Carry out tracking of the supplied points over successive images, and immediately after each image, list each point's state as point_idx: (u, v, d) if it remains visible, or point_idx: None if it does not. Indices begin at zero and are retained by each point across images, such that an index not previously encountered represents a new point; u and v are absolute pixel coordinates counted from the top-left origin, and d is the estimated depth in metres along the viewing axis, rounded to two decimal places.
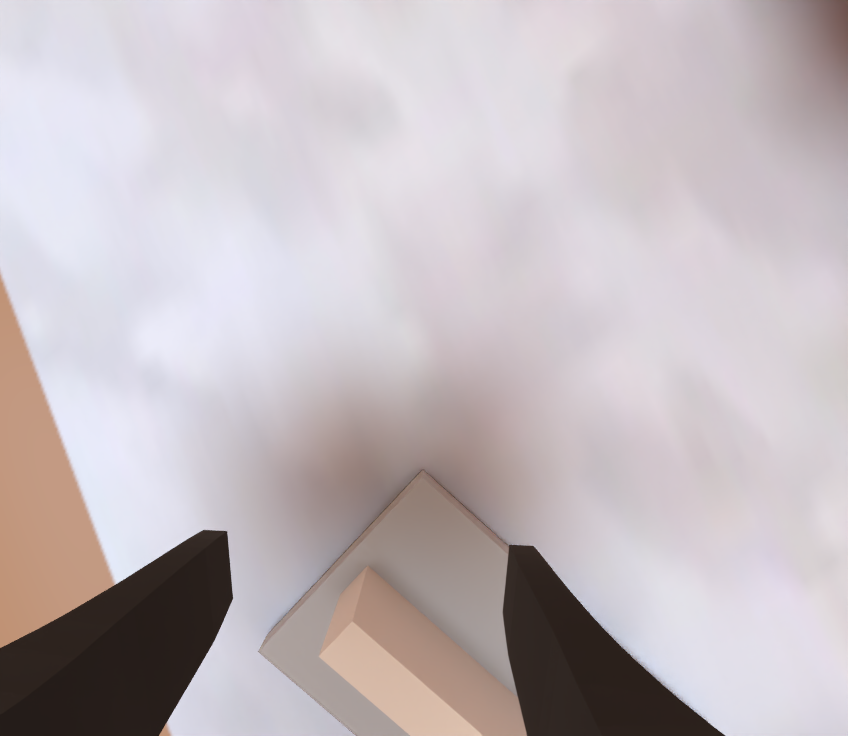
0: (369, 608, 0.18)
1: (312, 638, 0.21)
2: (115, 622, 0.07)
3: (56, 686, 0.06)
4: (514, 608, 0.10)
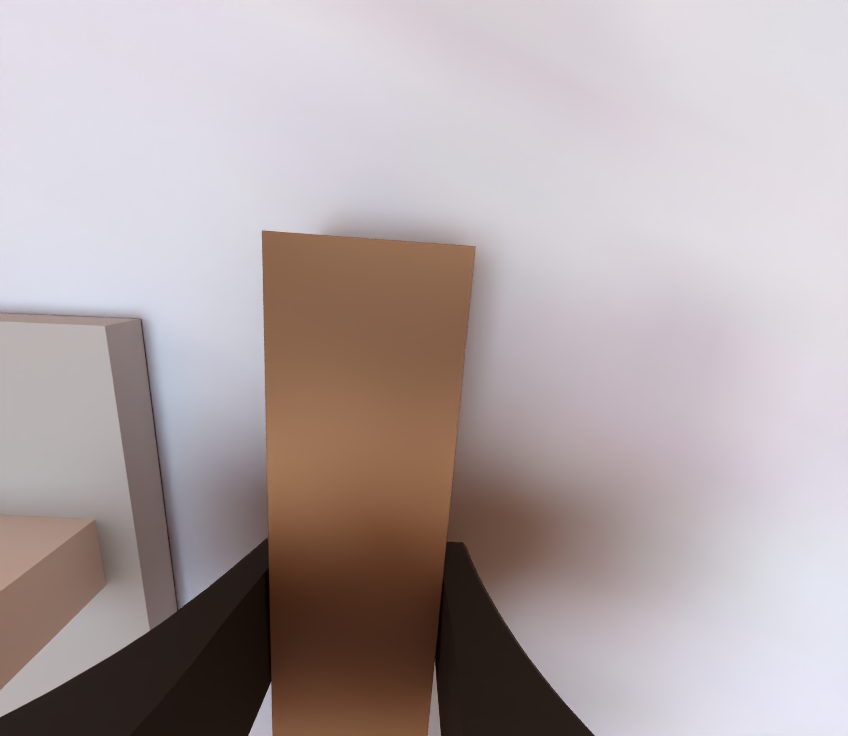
0: None
1: None
2: (218, 627, 0.07)
3: (178, 692, 0.06)
4: None
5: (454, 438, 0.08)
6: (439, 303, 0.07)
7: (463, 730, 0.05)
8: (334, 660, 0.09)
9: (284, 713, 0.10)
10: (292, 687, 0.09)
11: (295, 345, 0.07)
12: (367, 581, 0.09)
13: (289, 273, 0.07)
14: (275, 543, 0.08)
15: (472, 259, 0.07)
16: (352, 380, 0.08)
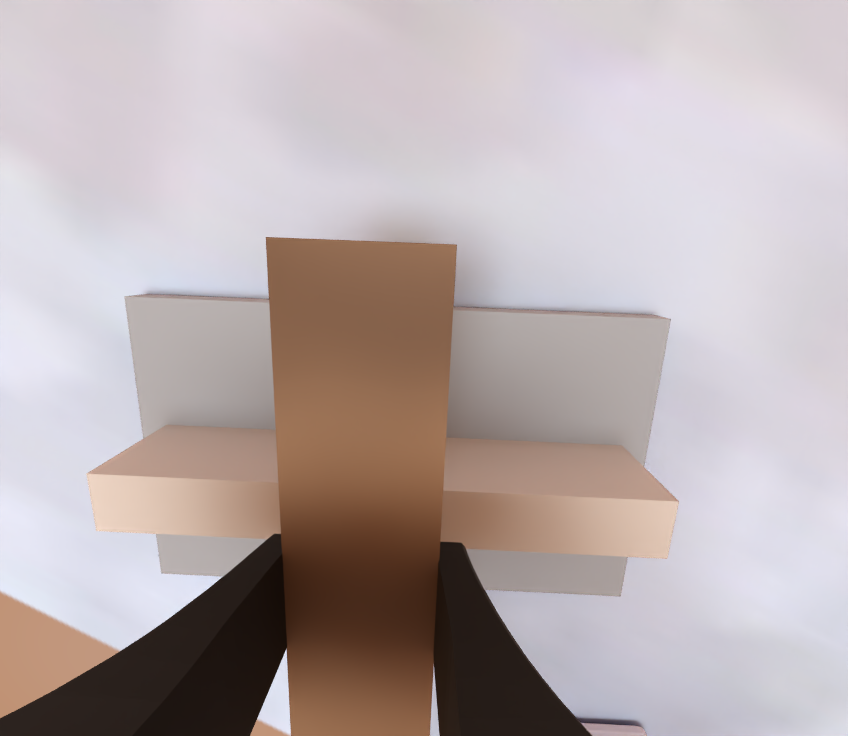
0: (137, 454, 0.14)
1: None
2: (220, 627, 0.07)
3: (180, 692, 0.06)
4: (436, 604, 0.10)
5: (445, 419, 0.09)
6: (427, 296, 0.08)
7: (461, 730, 0.05)
8: (343, 628, 0.10)
9: (299, 680, 0.10)
10: (305, 655, 0.10)
11: (298, 339, 0.08)
12: (371, 553, 0.09)
13: (291, 274, 0.08)
14: (286, 521, 0.09)
15: (454, 256, 0.08)
16: (350, 369, 0.08)
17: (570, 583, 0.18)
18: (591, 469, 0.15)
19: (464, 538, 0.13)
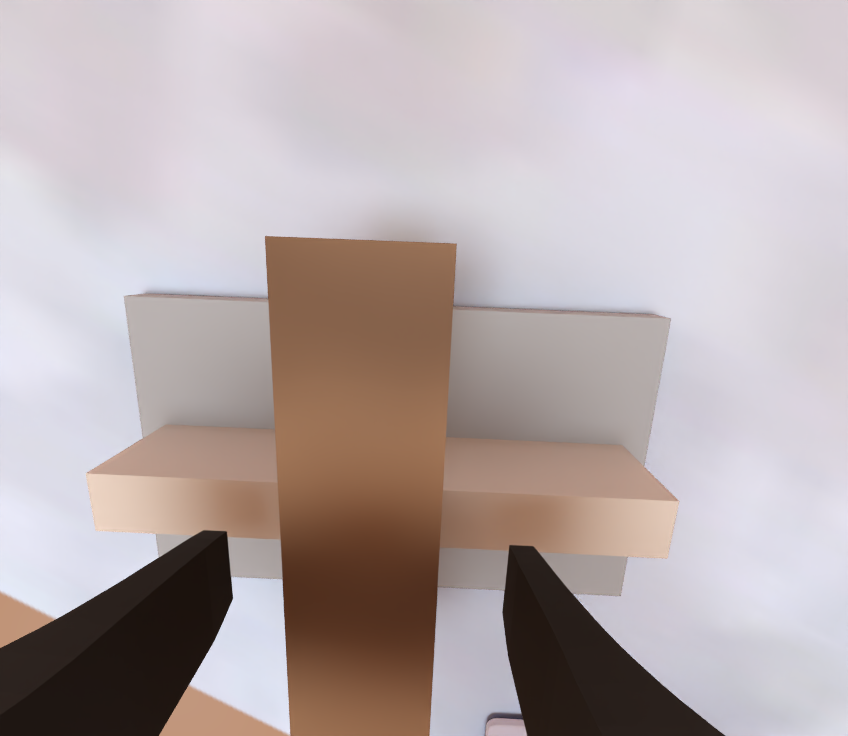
0: (137, 454, 0.14)
1: None
2: (115, 622, 0.07)
3: (56, 686, 0.06)
4: (514, 608, 0.10)
5: (445, 418, 0.09)
6: (427, 295, 0.08)
7: None
8: (343, 628, 0.10)
9: (299, 680, 0.10)
10: (305, 655, 0.10)
11: (298, 338, 0.08)
12: (370, 553, 0.09)
13: (290, 273, 0.08)
14: (286, 521, 0.09)
15: (454, 255, 0.08)
16: (350, 368, 0.08)
17: (570, 583, 0.18)
18: (591, 468, 0.15)
19: (464, 538, 0.13)
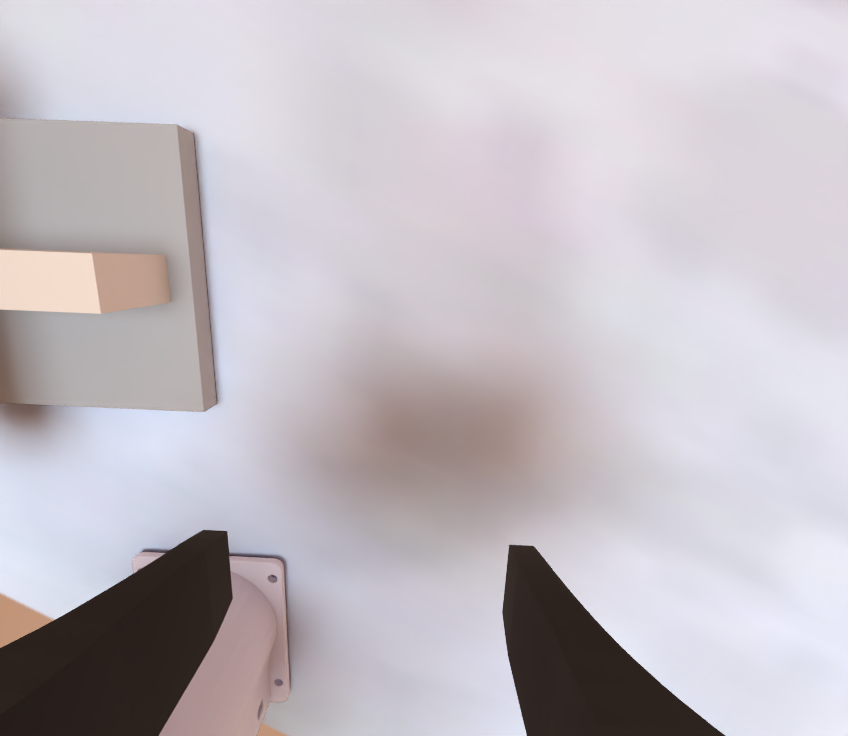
0: None
1: None
2: (115, 622, 0.07)
3: (56, 686, 0.06)
4: (514, 608, 0.10)
5: None
6: None
7: None
8: None
9: None
10: None
11: None
12: None
13: None
14: None
15: None
16: None
17: (155, 399, 0.20)
18: None
19: None
